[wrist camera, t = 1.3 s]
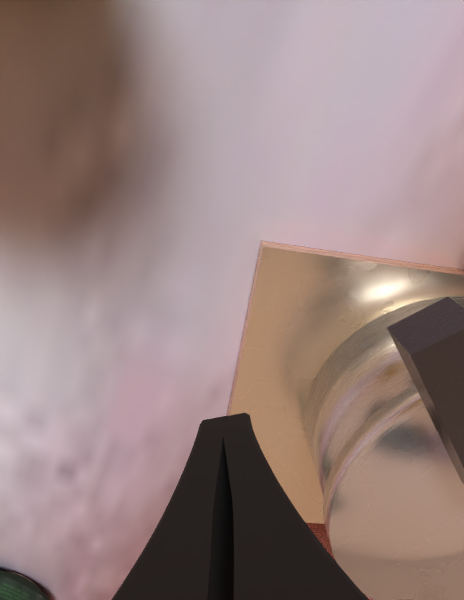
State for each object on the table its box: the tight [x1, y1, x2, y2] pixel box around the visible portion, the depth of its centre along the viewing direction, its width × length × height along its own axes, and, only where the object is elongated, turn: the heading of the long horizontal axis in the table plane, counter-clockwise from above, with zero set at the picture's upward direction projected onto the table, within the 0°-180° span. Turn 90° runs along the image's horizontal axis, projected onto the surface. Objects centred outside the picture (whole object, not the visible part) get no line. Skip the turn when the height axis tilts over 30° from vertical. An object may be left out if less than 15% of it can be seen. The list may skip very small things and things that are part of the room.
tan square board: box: [227, 241, 464, 524], centre depth 20 cm, size 19×22×6 cm
